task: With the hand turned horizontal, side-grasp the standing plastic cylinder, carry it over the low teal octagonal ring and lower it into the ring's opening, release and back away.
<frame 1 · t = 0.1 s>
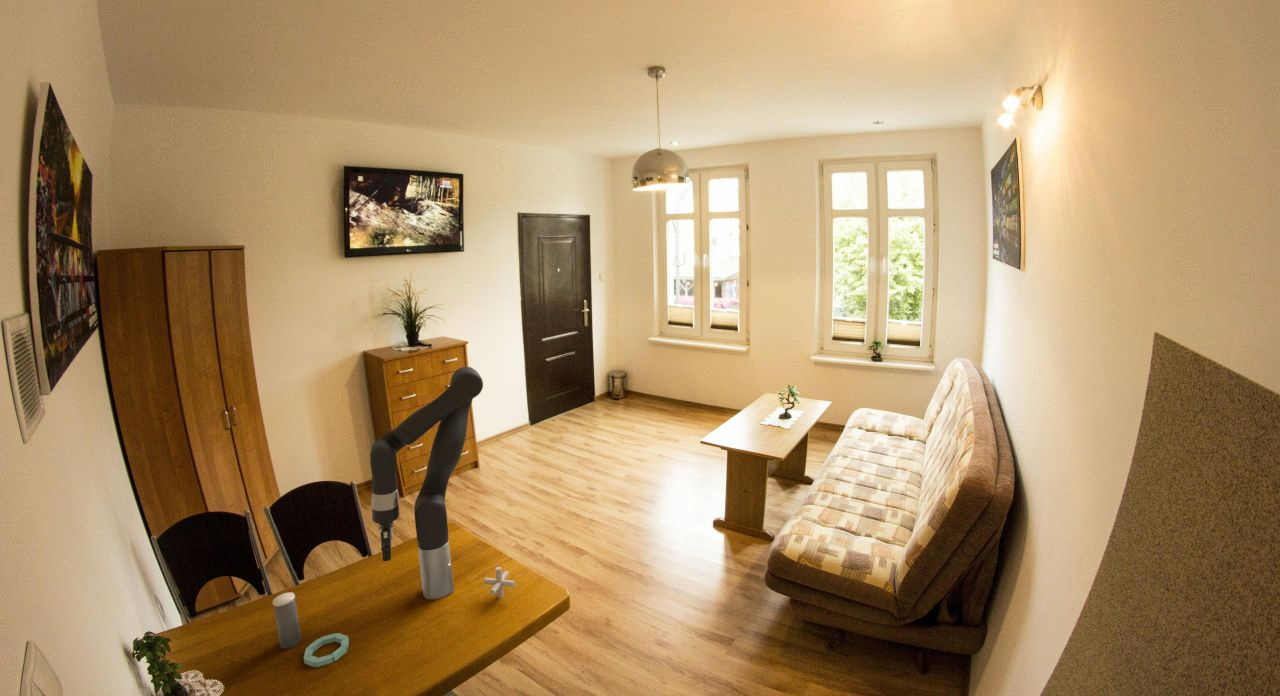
hand: (387, 553, 162), 17 cm above the table, tool pointing down, fingers open, 8 cm apart
barrel ring: (327, 651, 145), on the table
pipe connector: (500, 597, 168), on the table
cap cylinder: (290, 642, 149), on the table
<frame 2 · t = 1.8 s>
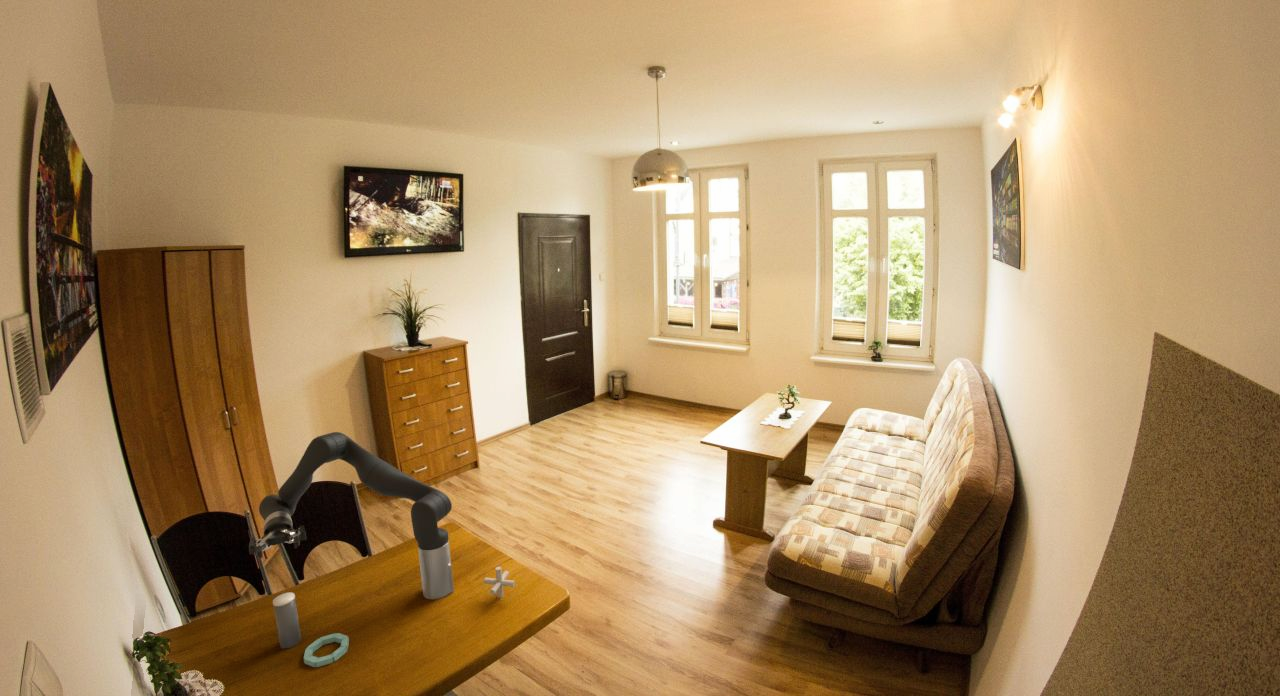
hand: (278, 550, 154), 23 cm above the table, tool horizontal, fingers open, 8 cm apart
nothing on the table moved.
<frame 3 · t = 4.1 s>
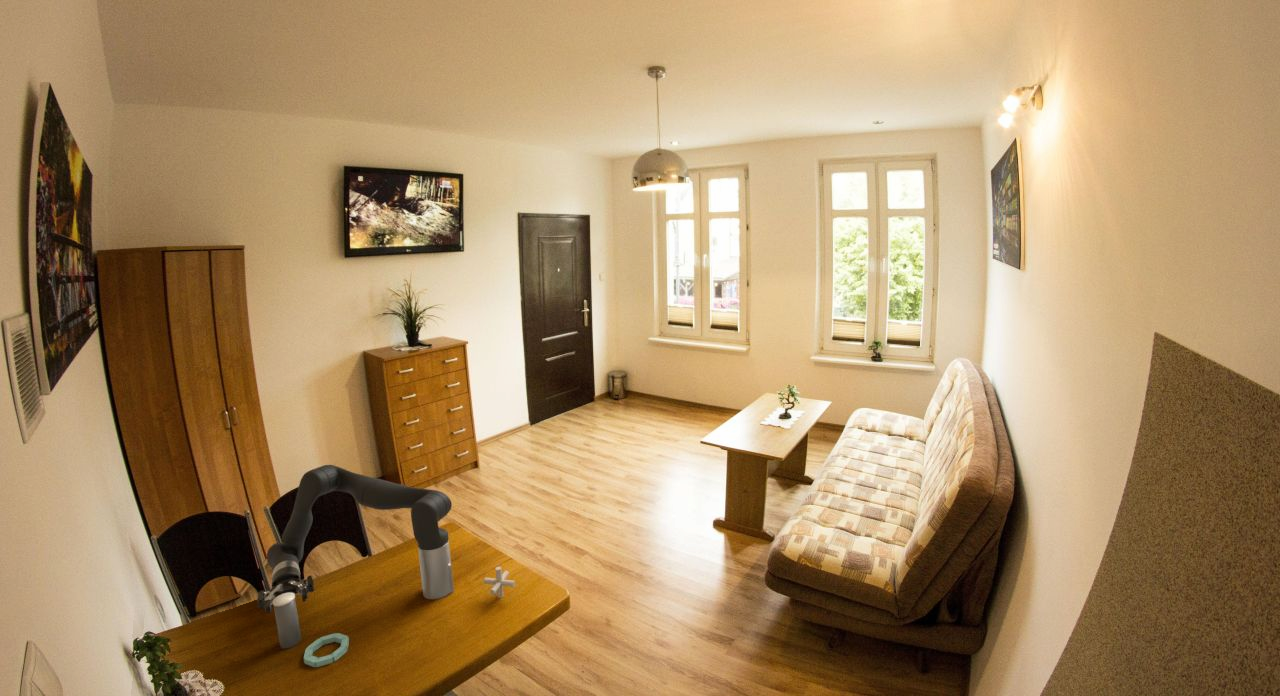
hand: (286, 604, 154), 8 cm above the table, tool horizontal, fingers open, 8 cm apart
nothing on the table moved.
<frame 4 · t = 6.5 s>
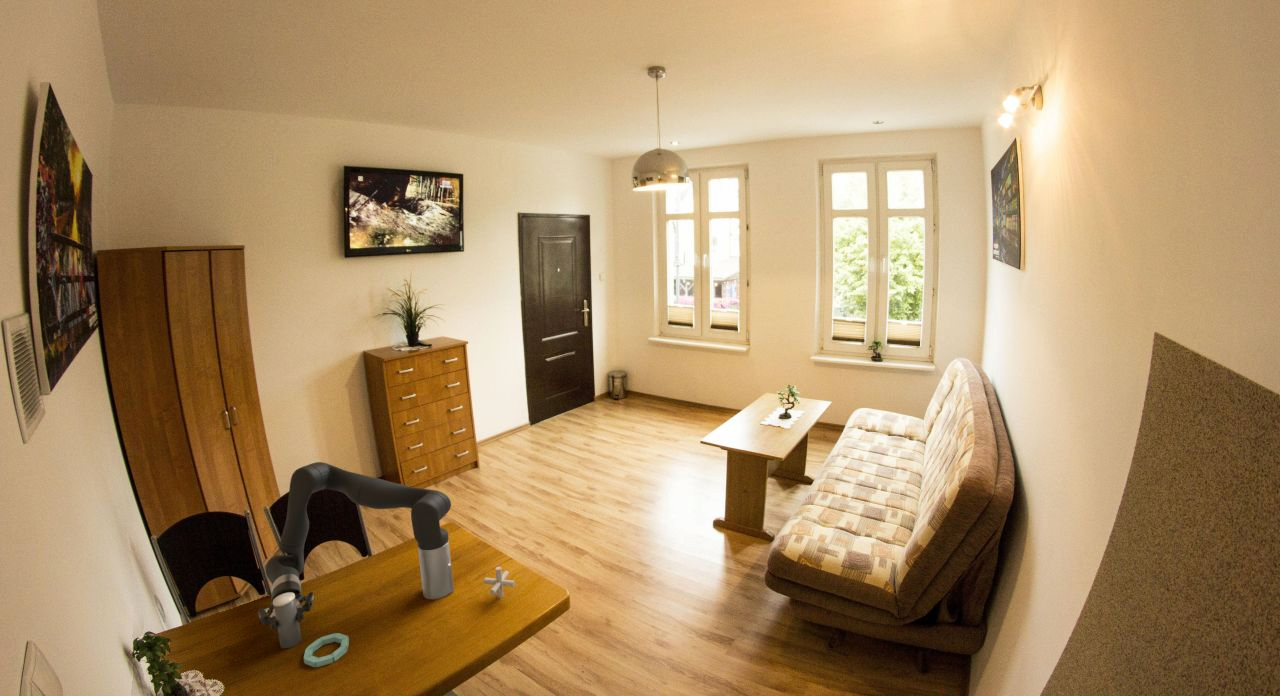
hand: (287, 623, 146), 8 cm above the table, tool horizontal, fingers closed on cap cylinder, 5 cm apart
cap cylinder: (290, 642, 149), on the table, touching gripper
everything else where it was.
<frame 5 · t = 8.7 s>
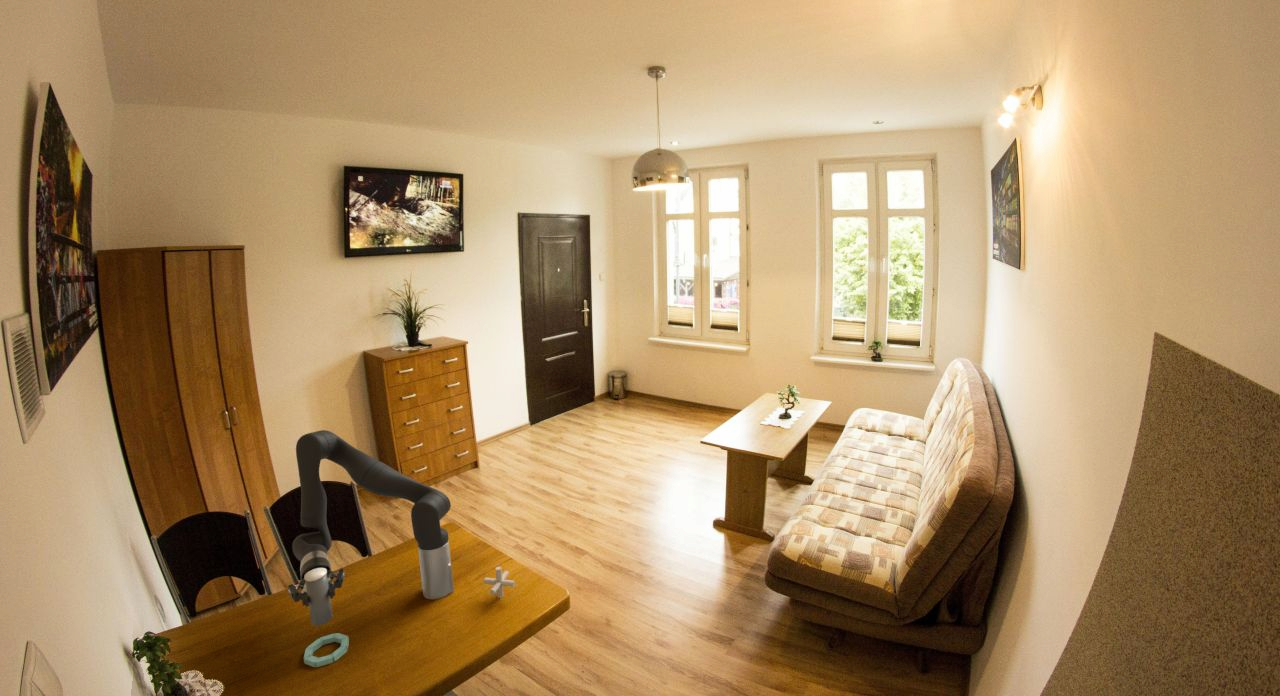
hand: (319, 599, 140), 18 cm above the table, tool horizontal, fingers closed on cap cylinder, 5 cm apart
cap cylinder: (322, 619, 144), point 10 cm above the table, touching gripper
everything else where it was.
when the fingers open (9 cm above the table, at t = 11.3 s): cap cylinder drops 1 cm, resting in barrel ring.
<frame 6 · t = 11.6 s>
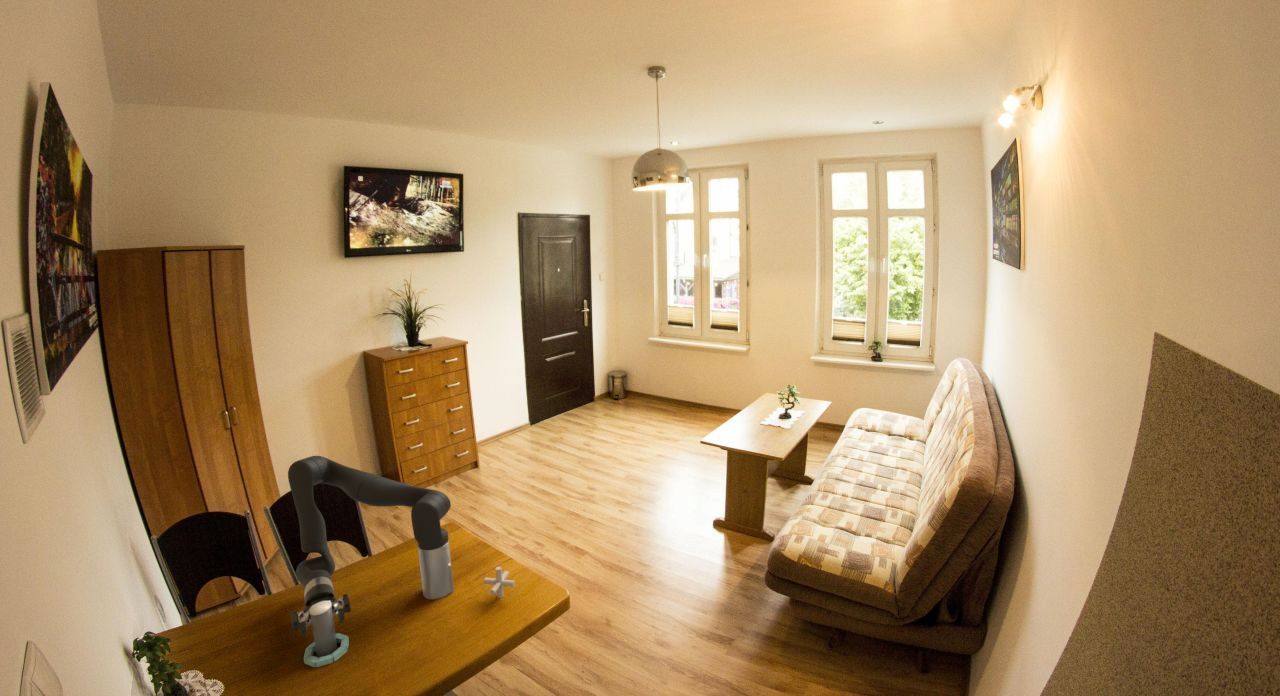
hand: (323, 626, 142), 9 cm above the table, tool horizontal, fingers open, 8 cm apart
cap cylinder: (327, 651, 145), resting in barrel ring
everything else where it was.
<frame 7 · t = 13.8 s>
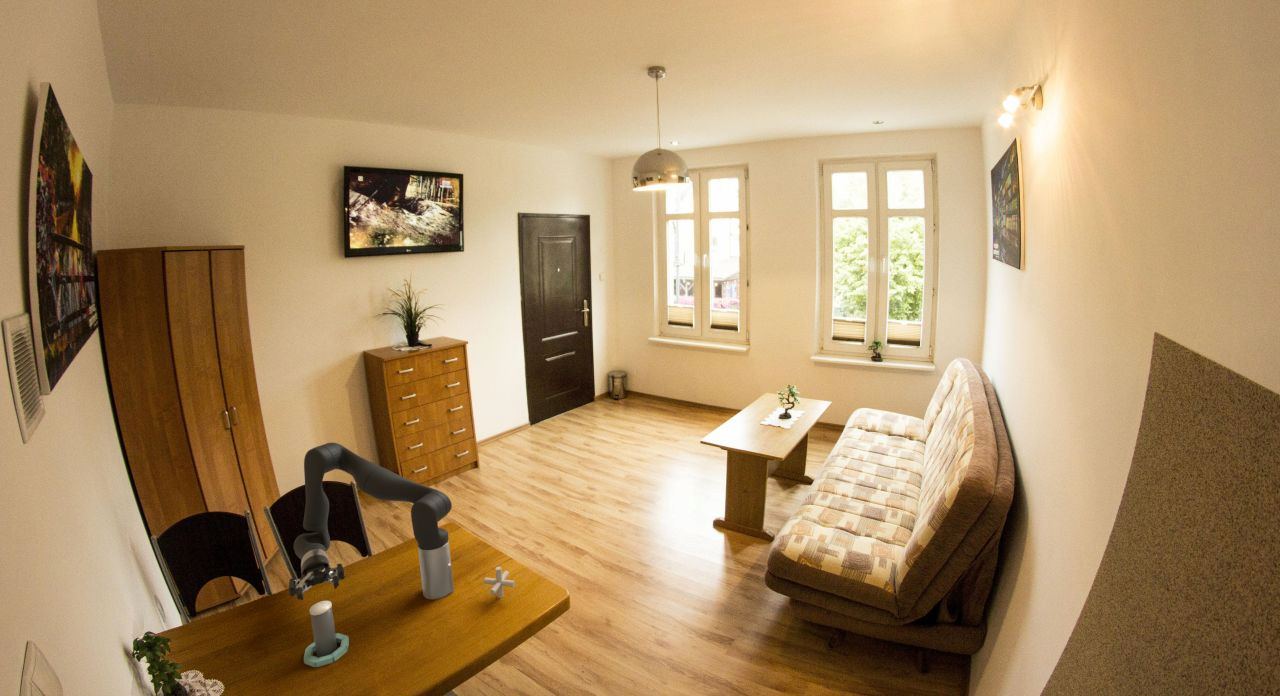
hand: (318, 591, 153), 12 cm above the table, tool horizontal, fingers open, 8 cm apart
nothing on the table moved.
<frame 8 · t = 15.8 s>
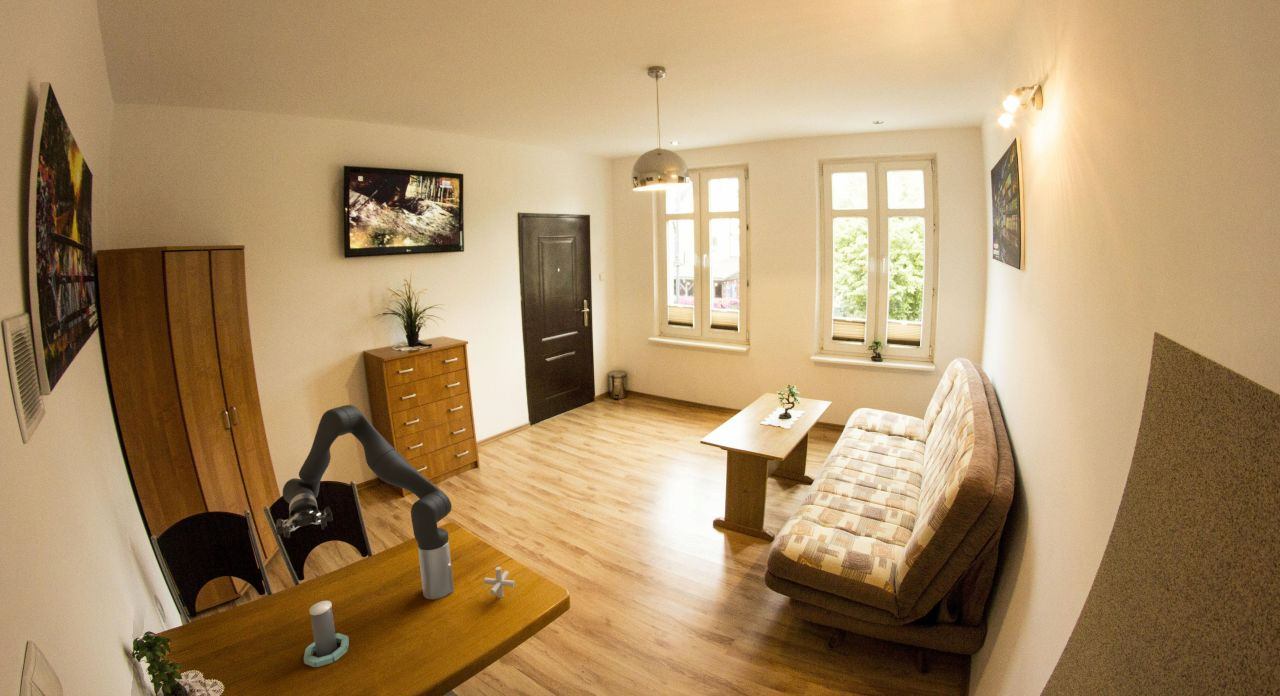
hand: (305, 530, 152), 30 cm above the table, tool horizontal, fingers open, 8 cm apart
nothing on the table moved.
at the end: cap cylinder 0.1 cm from the barrel ring (horizontally); cap cylinder resting in barrel ring; cap cylinder tilted 0° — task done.
